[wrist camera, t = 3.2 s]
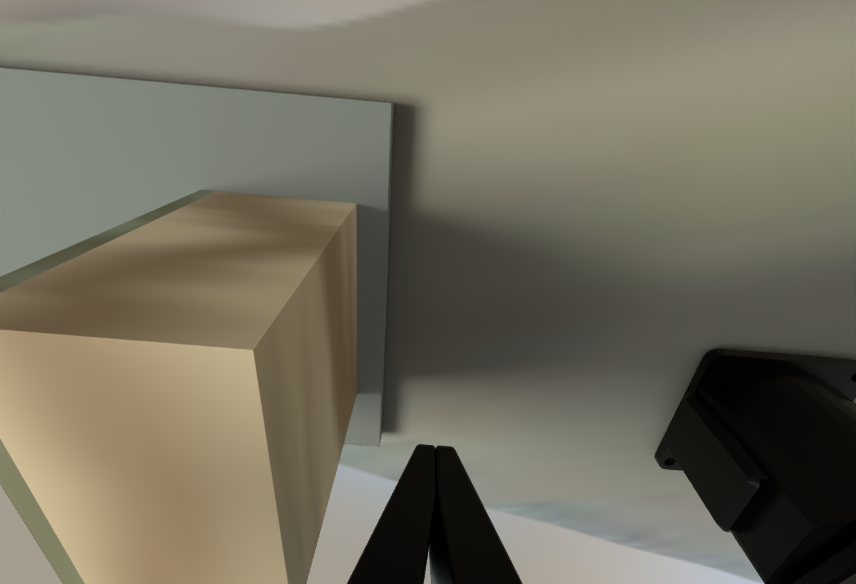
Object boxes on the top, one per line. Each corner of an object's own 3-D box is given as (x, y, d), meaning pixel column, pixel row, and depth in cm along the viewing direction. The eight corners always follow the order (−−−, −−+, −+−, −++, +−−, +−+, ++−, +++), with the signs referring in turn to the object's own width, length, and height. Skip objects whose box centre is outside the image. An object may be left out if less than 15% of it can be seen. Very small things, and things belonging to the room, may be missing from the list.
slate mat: (393, 102, 12) (391, 103, 11) (381, 432, 19) (379, 446, 18) (-140, 54, 12) (-176, 52, 11) (35, 405, 18) (19, 418, 18)
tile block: (356, 203, 13) (252, 350, 6) (357, 393, 16) (294, 627, 9) (200, 189, 13) (-103, 321, 6) (236, 384, 16) (80, 611, 9)
